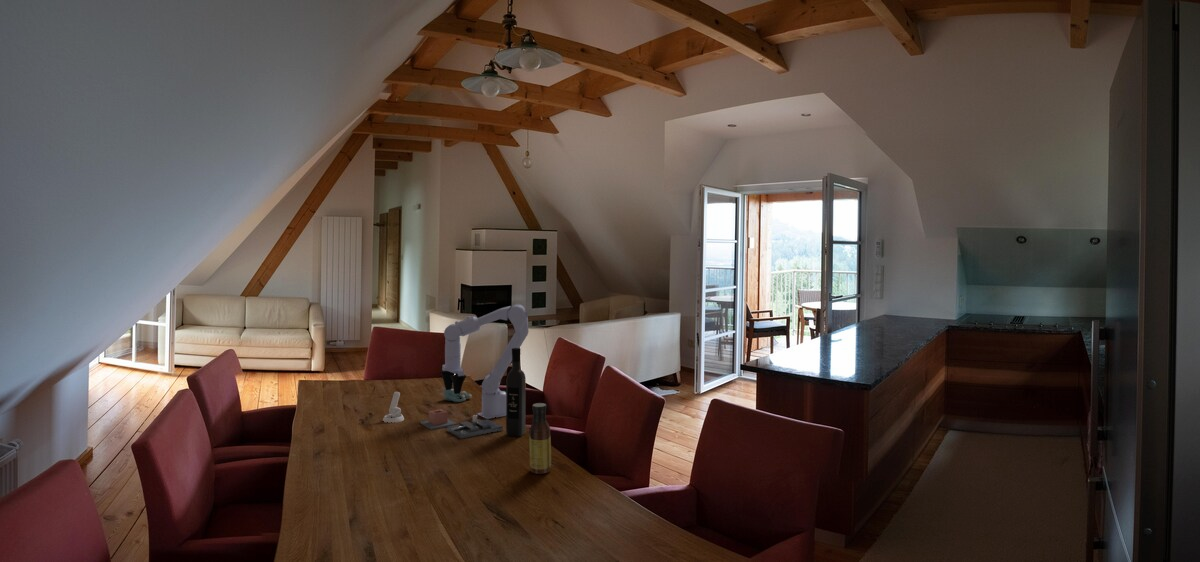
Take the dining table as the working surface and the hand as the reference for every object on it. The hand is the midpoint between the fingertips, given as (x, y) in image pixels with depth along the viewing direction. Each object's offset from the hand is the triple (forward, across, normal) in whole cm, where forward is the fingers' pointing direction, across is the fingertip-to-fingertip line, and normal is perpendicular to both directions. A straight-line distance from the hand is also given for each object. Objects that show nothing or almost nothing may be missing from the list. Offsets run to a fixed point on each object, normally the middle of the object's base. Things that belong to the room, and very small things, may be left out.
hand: (452, 391), depth 244 cm
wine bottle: (+10, +34, +8) cm, 36 cm away
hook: (+10, -8, -20) cm, 24 cm away
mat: (+9, +7, -9) cm, 15 cm away
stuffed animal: (+10, -22, +12) cm, 27 cm away
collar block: (+9, +7, -9) cm, 14 cm away
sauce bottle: (+10, +69, -5) cm, 70 cm away
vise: (+9, +22, -2) cm, 24 cm away
